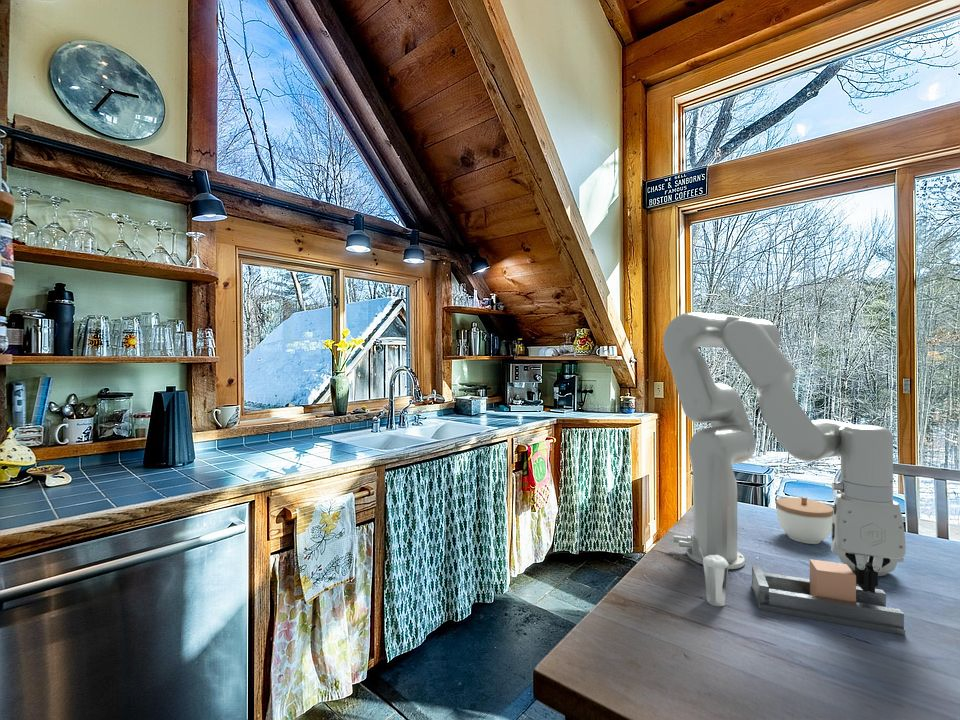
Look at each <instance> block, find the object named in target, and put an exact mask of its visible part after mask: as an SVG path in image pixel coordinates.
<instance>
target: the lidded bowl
mask: <svg viewBox="0 0 960 720" xmlns="http://www.w3.org/2000/svg"><path fill="white" fill-rule="evenodd" d="M775 505H776V517H777V521H778V524H779V526H780V528H781V529H782V531H783V532H784V533H785V535H787V537H788V538H789V539H790V540H792V541H795V542H799V543H802V544H808V545H818V544H820V543H821V542H822V541H823V540H826V539H827V538H828V536H830V534H831V527H832V516H833V509H834V507H832V506H831V505H829V504H826V503H824V502H820V501H818V500H813V499H808V498H807V497H805V496H801V497H800V498H798V497H782V498H778V499H776V500H775Z"/></svg>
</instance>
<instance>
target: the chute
mask: <svg viewBox="0 0 960 720" xmlns="http://www.w3.org/2000/svg"><path fill="white" fill-rule="evenodd" d="M751 588H752V591H753V594H754V596H755V599H756V603H757V606H758V608H759V610H760V611H766V612H771V613H776V614H783V615H787V616H795V617H798V618H804V619H811V620H818V621H822V622H829V623H833V624H840V625H844V626H845V625H846V626H849V627H857V628H861V629H862V628H863V629H866V630H873V631H878V632H884V633H891V634H895V635H901V636H906V629H905V613H904V612H903V611H902V610H901V609H900V608H894V607H887V594H886V592H885V591H884V590H883V589H878V588H875V593H872V592H870V591H868V592H865V591H863V590H862V589H861V587H860V586H859V585H856V602H851V601H845V600H839V599H832V598H826V597H820V596H814V595H810V578H805V577H799V576H793V575H785V574H779V573H778V574H777V573H771V572H764V571H763V569H762V567H761V566H757V565H756V566H755V565H751Z"/></svg>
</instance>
